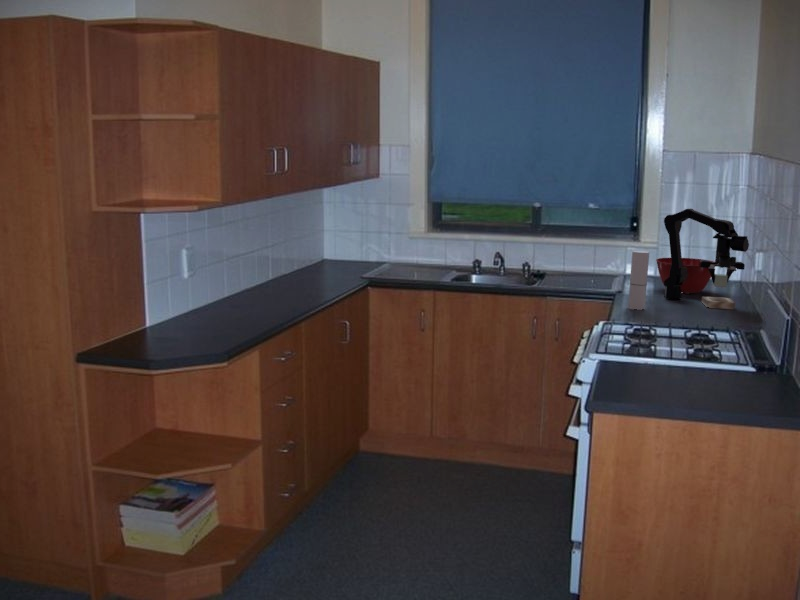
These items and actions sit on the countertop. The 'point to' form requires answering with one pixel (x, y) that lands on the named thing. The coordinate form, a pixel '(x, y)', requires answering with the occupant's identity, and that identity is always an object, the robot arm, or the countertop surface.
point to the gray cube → (720, 280)
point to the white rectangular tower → (638, 280)
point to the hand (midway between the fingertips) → (719, 283)
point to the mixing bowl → (695, 277)
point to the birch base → (718, 302)
